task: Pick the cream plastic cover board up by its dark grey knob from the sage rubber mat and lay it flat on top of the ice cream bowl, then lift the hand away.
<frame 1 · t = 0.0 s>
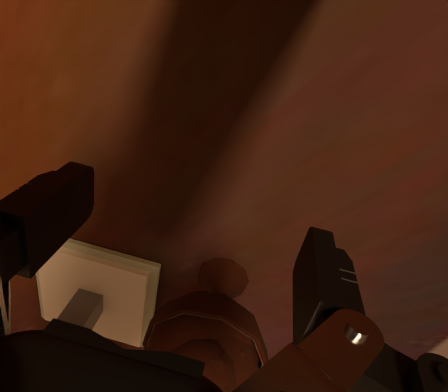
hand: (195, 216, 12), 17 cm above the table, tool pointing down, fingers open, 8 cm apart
cover board: (94, 295, 42), point 1 cm above the table, touching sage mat
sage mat: (96, 291, 42), on the table
ice cream bowl: (223, 276, 38), on the table
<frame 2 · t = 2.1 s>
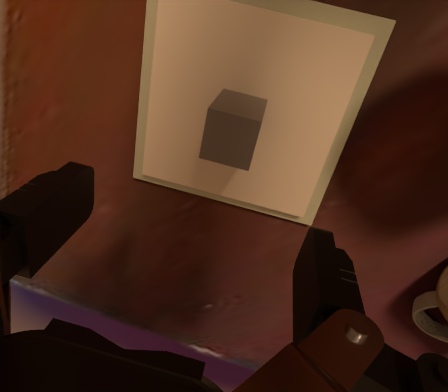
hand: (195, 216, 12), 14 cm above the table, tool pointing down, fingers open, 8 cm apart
cover board: (242, 112, 24), point 1 cm above the table, touching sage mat
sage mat: (243, 110, 25), on the table
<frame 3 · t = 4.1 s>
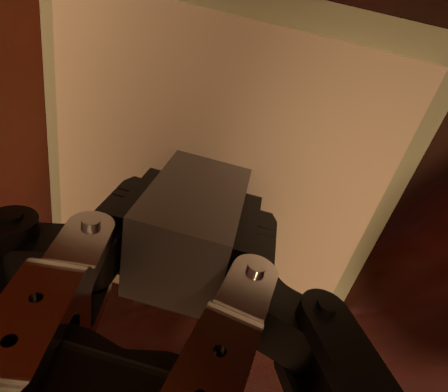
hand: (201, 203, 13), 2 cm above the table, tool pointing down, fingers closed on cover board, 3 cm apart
cover board: (211, 183, 15), point 1 cm above the table, touching gripper
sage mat: (214, 177, 15), on the table
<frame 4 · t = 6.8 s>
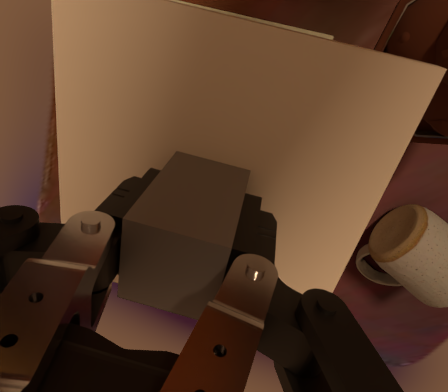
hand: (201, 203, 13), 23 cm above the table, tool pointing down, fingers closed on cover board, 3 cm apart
cover board: (210, 184, 15), point 21 cm above the table, touching gripper
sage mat: (231, 100, 34), on the table
ice cream bowl: (415, 47, 29), on the table
ceramic mug: (401, 240, 38), on the table
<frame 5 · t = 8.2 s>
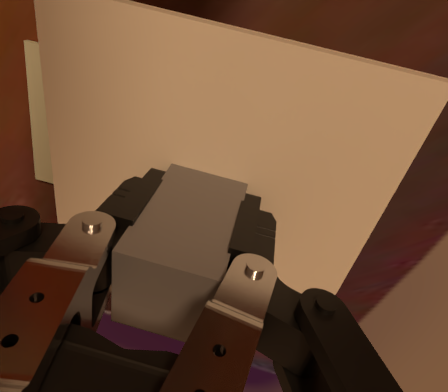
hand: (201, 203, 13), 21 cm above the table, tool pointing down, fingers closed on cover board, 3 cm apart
cover board: (207, 194, 14), point 20 cm above the table, touching gripper
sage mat: (100, 133, 36), on the table
when the fingers open (18 cm above the table, at t = 9.4 s): cover board drops 2 cm, resting on ice cream bowl.
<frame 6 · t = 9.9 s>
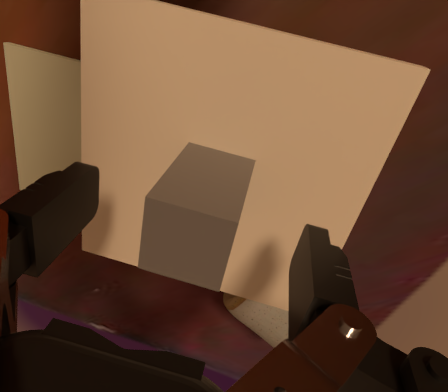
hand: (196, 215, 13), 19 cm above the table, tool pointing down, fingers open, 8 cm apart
cover board: (218, 173, 16), point 15 cm above the table, touching ice cream bowl
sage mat: (88, 141, 34), on the table
ceramic mug: (268, 280, 39), on the table
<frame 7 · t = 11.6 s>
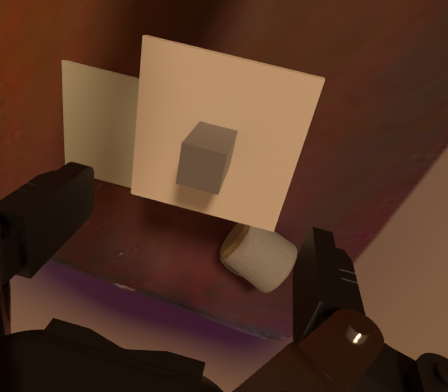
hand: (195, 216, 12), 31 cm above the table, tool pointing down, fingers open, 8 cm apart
cover board: (217, 140, 28), point 15 cm above the table, touching ice cream bowl
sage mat: (119, 132, 45), on the table
ceramic mug: (254, 242, 50), on the table
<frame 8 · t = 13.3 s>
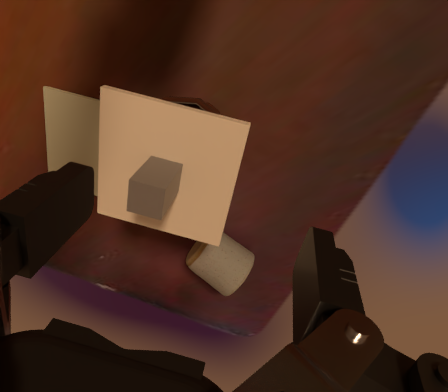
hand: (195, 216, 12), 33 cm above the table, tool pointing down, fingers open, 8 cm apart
cover board: (167, 170, 33), point 15 cm above the table, touching ice cream bowl
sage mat: (97, 149, 50), on the table
ice cream bowl: (202, 122, 46), on the table, touching cover board
ceramic mug: (220, 250, 55), on the table
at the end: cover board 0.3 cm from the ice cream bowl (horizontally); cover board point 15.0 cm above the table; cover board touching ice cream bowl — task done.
